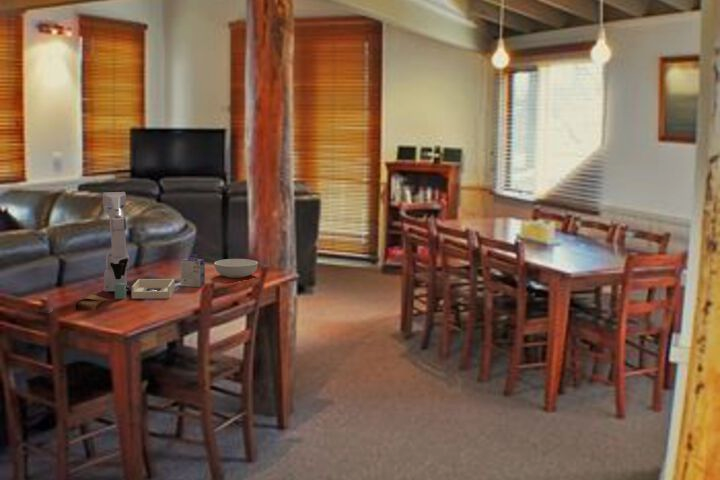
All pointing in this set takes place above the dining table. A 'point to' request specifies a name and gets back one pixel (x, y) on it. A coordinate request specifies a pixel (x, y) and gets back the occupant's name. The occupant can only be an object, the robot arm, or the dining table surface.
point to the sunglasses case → (90, 302)
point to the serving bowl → (236, 267)
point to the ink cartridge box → (193, 272)
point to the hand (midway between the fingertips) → (120, 277)
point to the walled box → (161, 285)
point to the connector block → (120, 290)
